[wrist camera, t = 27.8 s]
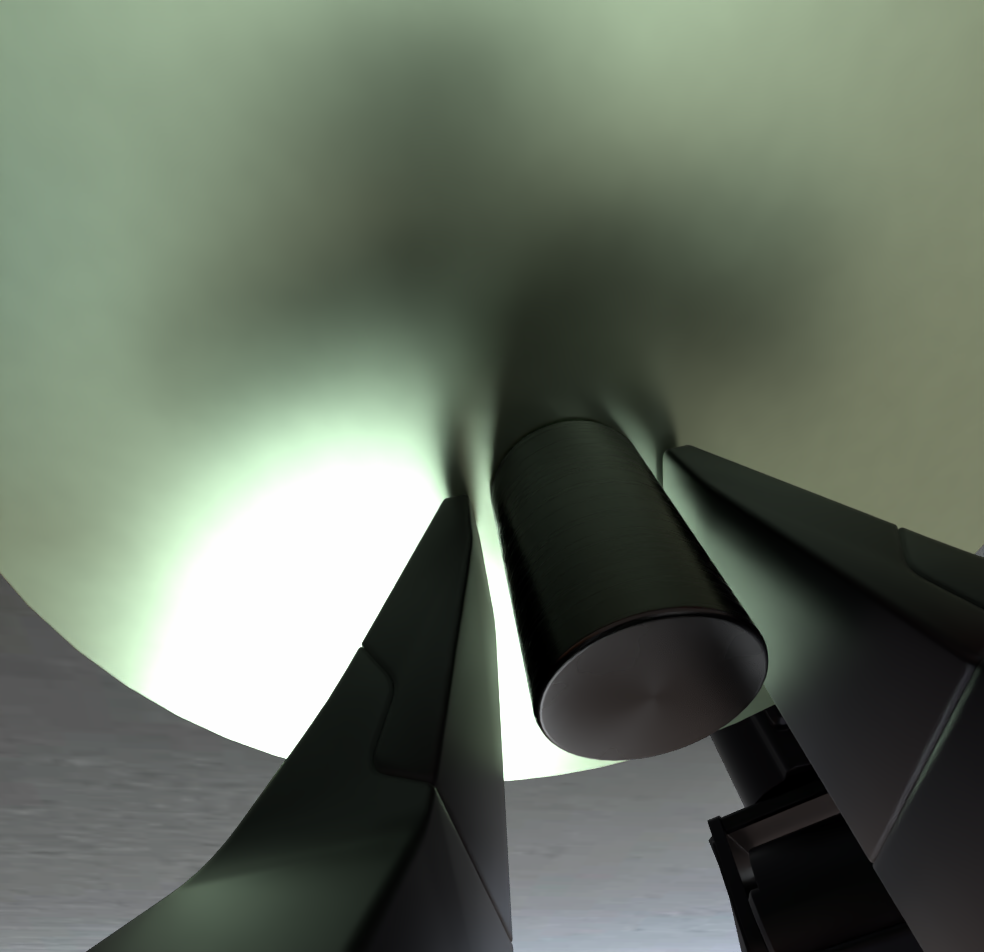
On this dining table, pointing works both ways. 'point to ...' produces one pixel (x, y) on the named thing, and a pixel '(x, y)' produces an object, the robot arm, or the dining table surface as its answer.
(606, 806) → the dining table surface
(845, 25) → the bin lid
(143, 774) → the dining table surface
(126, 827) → the dining table surface
